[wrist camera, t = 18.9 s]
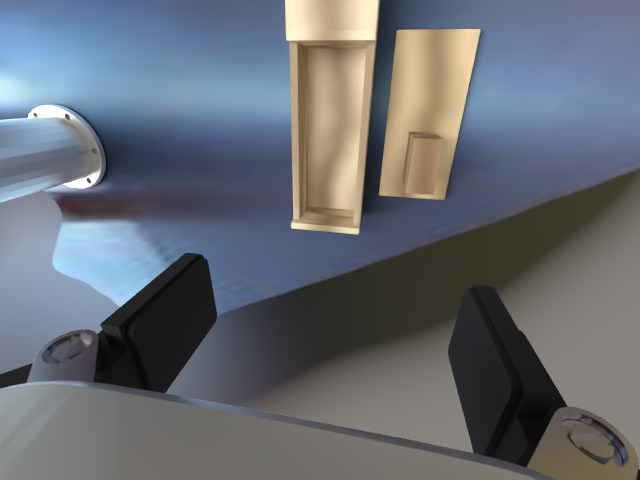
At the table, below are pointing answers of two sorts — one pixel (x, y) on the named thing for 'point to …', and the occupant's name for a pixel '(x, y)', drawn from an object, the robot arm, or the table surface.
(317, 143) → the light wooden long piece
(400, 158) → the lid
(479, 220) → the table surface
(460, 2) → the table surface
